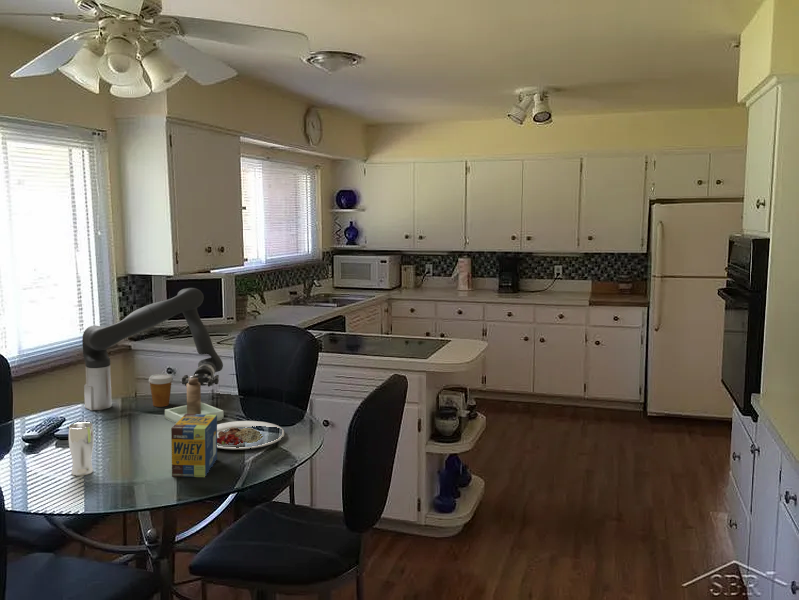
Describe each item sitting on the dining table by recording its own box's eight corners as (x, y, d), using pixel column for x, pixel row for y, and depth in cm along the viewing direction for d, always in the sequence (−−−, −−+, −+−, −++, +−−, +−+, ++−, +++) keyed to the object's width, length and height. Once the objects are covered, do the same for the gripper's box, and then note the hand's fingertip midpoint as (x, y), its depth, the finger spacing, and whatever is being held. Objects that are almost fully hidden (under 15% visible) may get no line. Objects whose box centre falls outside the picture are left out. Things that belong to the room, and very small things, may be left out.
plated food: (293, 428, 259) (293, 419, 258) (271, 456, 229) (271, 446, 229) (217, 423, 262) (217, 415, 261) (185, 450, 232) (184, 441, 232)
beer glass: (88, 466, 215) (86, 420, 213) (99, 472, 211) (97, 425, 209) (65, 472, 210) (64, 425, 208) (76, 478, 205) (74, 430, 203)
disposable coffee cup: (178, 404, 284) (177, 376, 283) (159, 409, 276) (158, 380, 275) (162, 400, 289) (162, 372, 288) (143, 405, 281) (143, 377, 280)
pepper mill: (191, 419, 262) (190, 381, 260) (184, 416, 265) (183, 378, 263) (203, 416, 266) (203, 378, 264) (196, 413, 269) (195, 376, 267)
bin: (186, 428, 254) (186, 419, 254) (164, 418, 265) (164, 409, 265) (223, 419, 266) (223, 410, 265) (201, 410, 277) (201, 402, 276)
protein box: (171, 477, 209) (170, 428, 206) (185, 458, 224) (185, 413, 222) (205, 477, 209) (205, 428, 207) (218, 459, 224) (217, 413, 222)
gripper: (187, 365, 287) (179, 375, 271) (221, 365, 289) (216, 375, 273) (187, 383, 288) (179, 393, 272) (221, 383, 290) (216, 393, 274)
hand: (197, 384), depth 273 cm, fingers open, 8 cm apart
